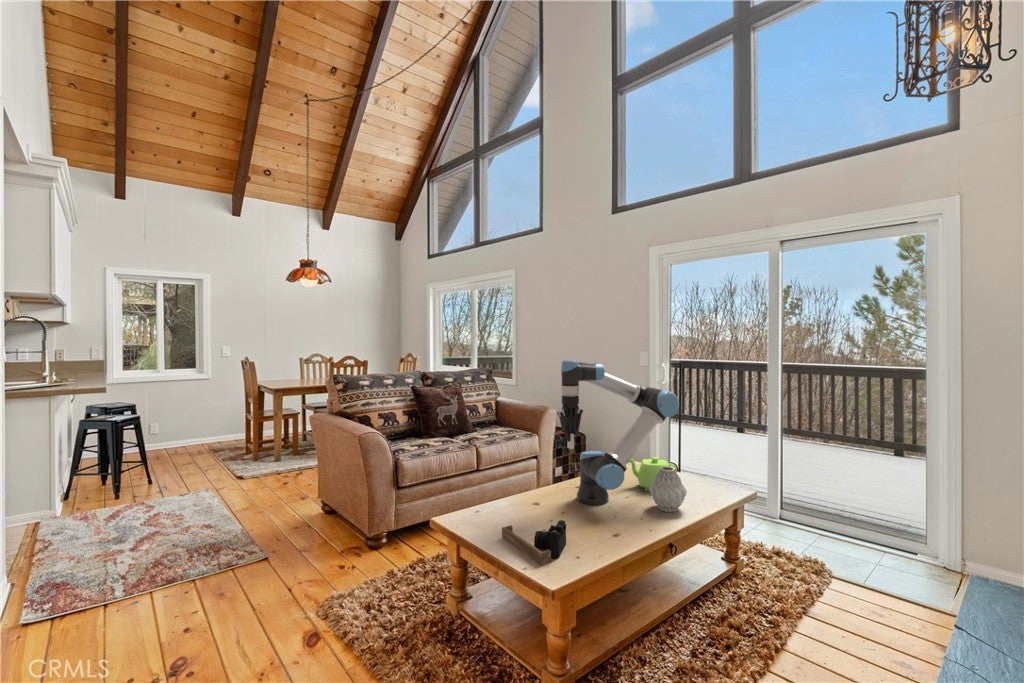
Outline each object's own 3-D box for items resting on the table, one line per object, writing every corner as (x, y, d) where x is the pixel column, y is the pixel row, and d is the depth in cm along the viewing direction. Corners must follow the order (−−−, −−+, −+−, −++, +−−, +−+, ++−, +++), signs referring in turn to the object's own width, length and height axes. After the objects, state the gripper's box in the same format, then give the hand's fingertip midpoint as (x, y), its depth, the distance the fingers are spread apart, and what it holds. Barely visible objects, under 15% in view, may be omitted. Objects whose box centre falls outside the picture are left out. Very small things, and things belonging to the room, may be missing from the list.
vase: (645, 502, 221) (645, 463, 221) (680, 502, 221) (680, 463, 220) (654, 516, 205) (654, 474, 204) (692, 516, 204) (692, 474, 204)
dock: (511, 535, 187) (510, 525, 187) (550, 561, 165) (550, 550, 165) (502, 537, 185) (501, 527, 185) (541, 565, 163) (541, 553, 163)
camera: (542, 539, 184) (542, 513, 183) (569, 543, 180) (569, 517, 179) (531, 555, 171) (530, 528, 170) (559, 560, 167) (559, 532, 167)
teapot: (674, 481, 251) (674, 451, 251) (679, 495, 230) (679, 463, 230) (626, 478, 257) (626, 449, 256) (626, 491, 236) (626, 460, 235)
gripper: (576, 392, 213) (576, 444, 214) (553, 395, 206) (553, 448, 207) (587, 394, 207) (587, 447, 208) (564, 397, 200) (564, 452, 201)
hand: (570, 448), depth 207 cm, fingers closed
